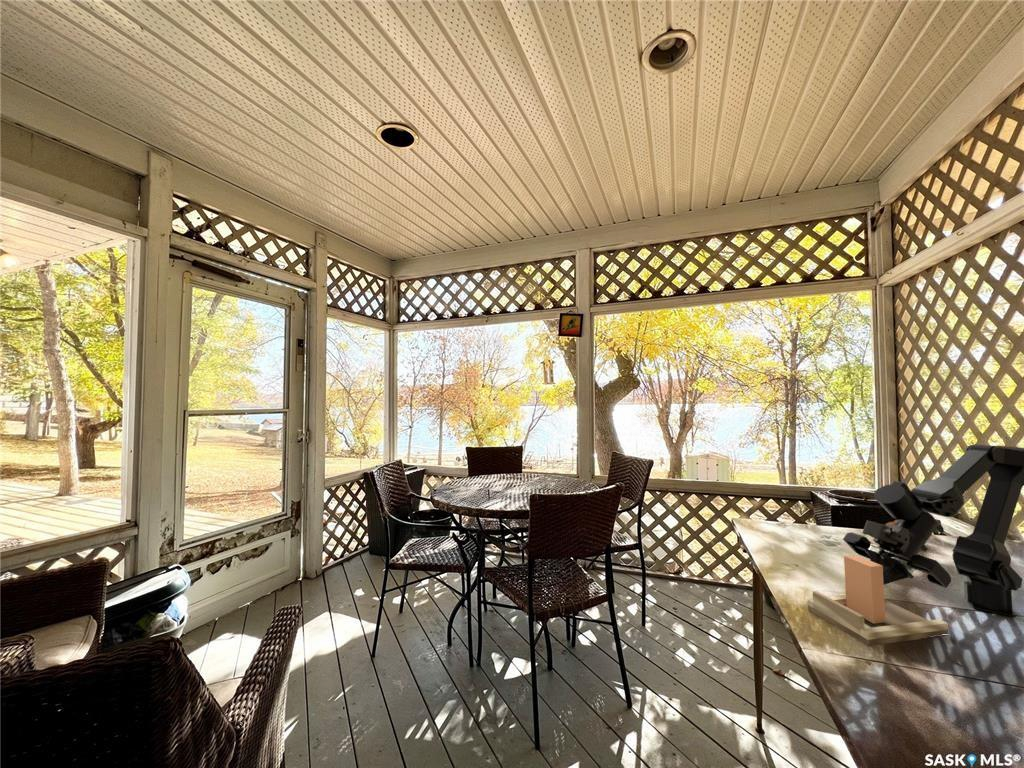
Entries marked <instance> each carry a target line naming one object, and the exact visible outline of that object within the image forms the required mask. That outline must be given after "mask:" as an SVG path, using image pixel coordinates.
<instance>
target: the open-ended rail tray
mask: <svg viewBox="0 0 1024 768" xmlns="http://www.w3.org/2000/svg"><path fill="white" fill-rule="evenodd" d="M885 596H886V595H885V594H884V602H885V622H883V623H875V624H873V623H871V622H870V621H868V620H866V619H864V616H863V615H861V614H859V613H857V612H855V611H853V610H851V609H850V608H848V607H846V594H844V595H832V596H827V595H825V594H823V593H821V592H820V591H817V590H815V591H812V598H807V610H808V611H809V612H810V613H813V614H814V615H816V616H818V617H819V618H821V619H823V620H824V621H825V622H827V623H830V625H833V626H834V627H836V628H837V629H839V630H841V631H842V632H844V633H846V634H848V635H849V636H851V637H853V638H855V639H856V640H858V641H860V642H861V643H863V644H865V645H866V646H867V647H868V646H877V645H885V644H893V643H900V642H908V641H916V640H922V639H921V638H924V639H926V638H925V637H930V636H934V635H942V634H948V635H949V624H948V622H946V621H944V620H942V619H938V618H937V619H931V620H928V619H927V618H924V617H922V616H920V615H918V614H916V613H914V612H913V611H912V612H911V611H909V610H907V609H906V608H903V607H901V606H899V605H896V604H895V603H892V602H890V601H888V600H886V597H885Z"/></svg>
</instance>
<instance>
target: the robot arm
mask: <svg viewBox="0 0 1024 768" xmlns="http://www.w3.org/2000/svg"><path fill="white" fill-rule="evenodd" d="M986 473H988V475H989V477H990V478H989V482H988V485H987V488H986V491H985V494H984V497H983V501H982V503H981V507H980V509H979V513H978V516H977V518H976V522H975V525H974V529H973V531H972V533H971V534H969V535H968V536H962V535H959V536H958V537H957V538H956V542H955V546H954V548H953V549H952V560H953V563H954V566H955V568H956V570H957V571H956V572H957V574H958V575H961V576H962V575H963V576H965V577H966V580H965V581H964V582H963V586H964V587H963V589H964V590H963V591H964V599H965V600H966V601H967V603H969V605H970V606H971V607H972V609H975V610H977V611H983V612H988V613H992V614H993V613H994V614H999V615H1001V616H1008V617H1013V618H1015V617H1017V614H1016V613H1015V611H1014V609H1013V597H1012V596H1013V595H1012V591H1019V589H1021V588H1022V585H1023V584H1022V582H1023V578H1022V577H1021V576H1020V575H1019V574H1018V573H1017V572H1016V571H1015V570H1014V569H1013V567H1012V566H1011V563H1012V557H1011V555H1010V553H1009V551H1008V549H1007V547H1006V545H1005V544H1006V539H1007V536H1008V534H1009V530H1010V526H1011V525H1012V520H1013V516H1014V514H1015V511H1016V509H1017V505H1018V502H1019V498H1020V495H1021V492H1022V489H1023V487H1024V447H1018V446H1017V447H1016V446H1010V445H1009V446H1007V445H990V444H989V445H988V444H977V443H975V444H970V445H968V446H967V448H966V450H965V452H964V453H963V455H961V456H960V457H959V458H958V459H957V460H955V462H954V463H952V464H951V465H950V466H949V467H948V468H947V469H946V470H945V471H944V472H943V473H942V474H940V475H939V476H938V477H937V478H933V479H930V480H926V481H922V482H921V483H920V484H917V485H916V486H915V487H913V488H912V489H910V488H909V486H908V485H907V484H906V483H905V482H902V481H897V480H894V481H893V483H892V484H886V485H883V486H881V487H879V488H877V489H876V490H875V492H874V493H873V494H874V495H873V496H874V499H875V501H876V502H877V503H878V504H880V506H881V507H882V508H883V509H884V510H885V511H886V512H887V513H888V514H889V515H890V517H892V518H893V519H895V520H898V521H897V522H896V524H895V525H894V526H891V525H887V526H885V524H884V525H881V524H882V523H877V522H875V521H871V520H868V519H867V520H866V522H865V524H864V527H863V530H862V534H863V535H868V536H870V537H872V538H873V539H872V541H873V542H874V543H875V544H874V543H872V541H870V540H869V538H867V537H866V536H863V535H861V534H858V533H855V532H847V533H846V534H845V536H844V537H843V539H842V540H843V541H844V542H845V543H846V544H847V545H848V546H849V547H850V548H851V550H852V551H853V552H855V553H856V554H857V555H858V556H860V557H862V558H865V559H866V558H867V560H869V561H872V562H875V563H877V564H880V565H882V566H883V582H884V585H887V584H891V583H893V582H897V581H900V580H904V579H908V578H909V579H911V580H912V579H914V575H913V574H914V573H915V571H919V572H922V573H925V574H926V578H927V580H928V582H929V583H932V584H933V585H937V586H939V587H941V588H944V589H947V588H948V586H949V585H950V584H951V582H952V577H951V574H950V573H949V572H948V571H947V570H946V569H945V568H944V567H943V566H942V565H941V564H940V563H939V562H938V560H936V559H933V558H931V557H927V556H923V555H920V554H919V553H920V551H921V552H924V553H926V552H927V550H928V547H927V546H926V545H925V544H926V543H927V542H928V540H929V539H930V537H932V535H933V534H934V532H938V533H941V534H943V533H945V528H944V527H943V525H942V522H941V521H942V520H940V519H938V518H936V517H934V515H937V516H941V517H945V518H952V517H954V516H955V515H957V514H958V512H959V511H960V509H961V508H962V507H963V506H964V504H965V499H964V494H965V493H967V491H968V490H969V489H970V488H971V487H972V486H974V484H975V483H976V482H977V481H979V480H980V479H981V478H982V477H983V476H984V475H985V474H986ZM876 544H878V545H876Z"/></svg>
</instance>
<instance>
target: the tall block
mask: <svg viewBox="0 0 1024 768" xmlns="http://www.w3.org/2000/svg"><path fill="white" fill-rule="evenodd" d="M843 564H844V565H843V566H844V584H845V585H844V586H845V595H846V607H848V608H850V609H851V610H853V611H855V612H857V613H859V614H861V615H863V616H864V619H866V620H868V621H870V622H871V623H873V624H875V623H883V622H885V602H884V595H885V586H884V582H883V566H882V565H880V564H877V563H875V562H872V561H870V559H868V558H867V559H866V558H865V557H863V556H860V555H858V554H857V555H856V554H853V555H852V554H851V555H843Z"/></svg>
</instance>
